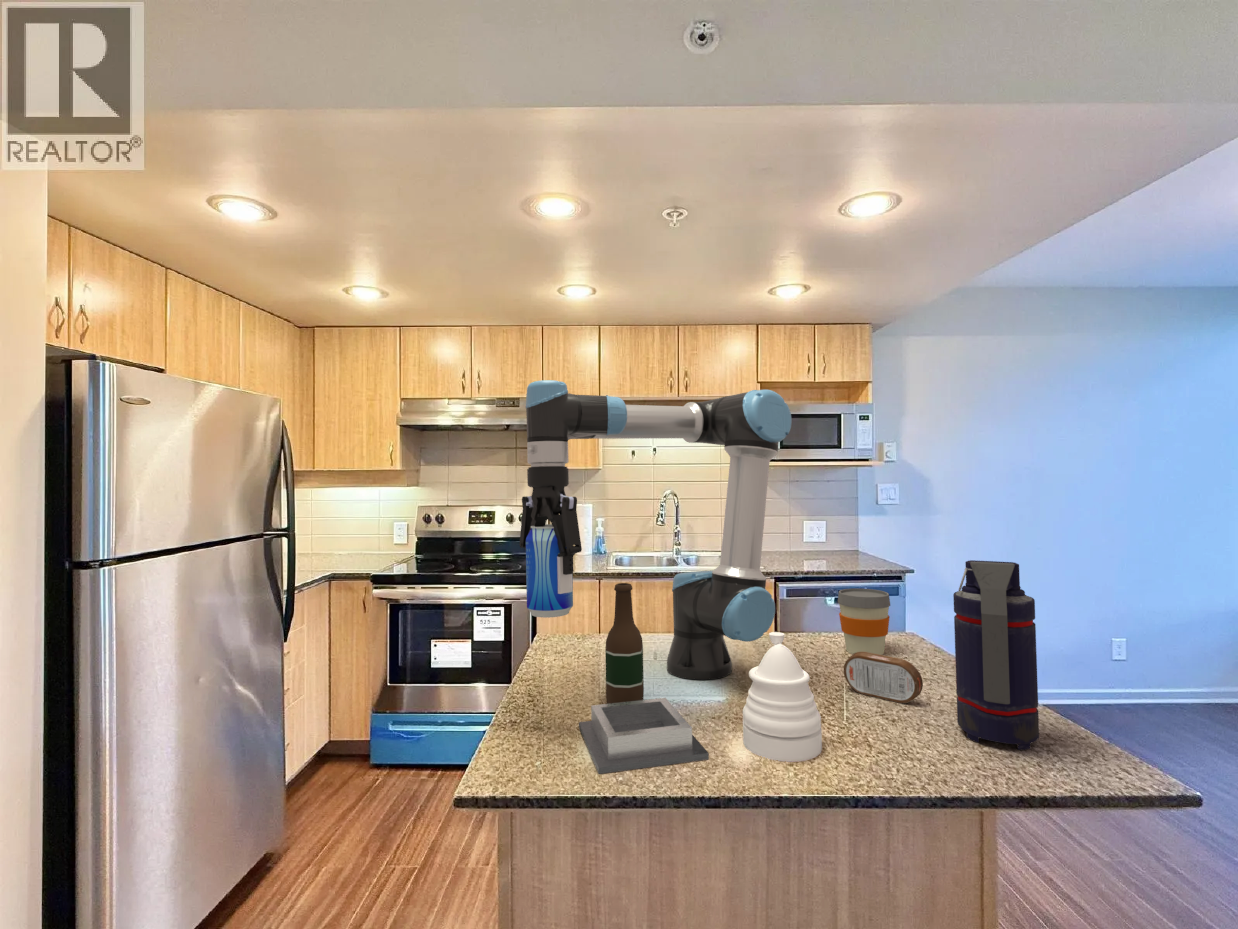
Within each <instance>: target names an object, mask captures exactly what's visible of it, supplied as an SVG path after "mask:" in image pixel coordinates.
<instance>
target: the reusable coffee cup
mask: <svg viewBox="0 0 1238 929" xmlns="http://www.w3.org/2000/svg"><path fill="white" fill-rule="evenodd" d="M837 595H838V596H837V604H839V611H840V612H839V613H838V615H839V623H840V627H841V628H840V629H841V631H842V633H843V637H844V644H845V650H846V652H848V653H849V654H852V655H853V654H854V653H857V652H869V653H874V654H879V655H884V654H885V647H886V646H885V644H886V638H887V636H888V635H889V626H890V625H889V624H890V615H889V611H890V610H889V609H890V607H891V599H890V594H889V593H888V592H887V591H883V590H880V589H872V588H845V589H840V590H839V591H838V594H837Z"/></svg>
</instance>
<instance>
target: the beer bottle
mask: <svg viewBox="0 0 1238 929" xmlns="http://www.w3.org/2000/svg"><path fill="white" fill-rule="evenodd" d="M632 590H633V586H632V583H628V582H620V583H619V582H618V583H616V584H615V585H614V590H613V591H615V600H614V618H613V625H612V626H611V628H610V630H609V632H608V634H607V637H606V640H605V649H604V650H605V651H604V652H605V700H606V704H610V703H620V702H629V701H639V700H644V691H645V690H644V689H645V688H644V685H645V684H644V645H643V644H644V642H643V638H642V634H641V631H640V630H639V628H638V627H637V625H636V624H635V621H634V620H635V619H634V612H633V601H632Z"/></svg>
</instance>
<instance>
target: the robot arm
mask: <svg viewBox="0 0 1238 929" xmlns="http://www.w3.org/2000/svg"><path fill="white" fill-rule="evenodd" d="M525 396H526V400H525V409H526V410H525V411H526V412H525V413H526V414H525V416H526V436H527V437H526V442H527V449H526V450H527V454H526V458H527V464H529V465H530V467H528V468H527V470H526V471H527V472H526V473H527V476H526V478H527V486H528V487H529V488H532V492H531V495H530V496H527V495H526V496H525V495H524V496H522V498H521V505H522V513H521V524H520V534H519V544H518V545H519V547H520V548H521V549H524V550H525V552H526V537H527V536H528V534H529V532H530V530H531V526H533V525H534V526H535V527H543V526H545V525H546V524H547V521H549V522H550V524H552V526H553V527H554V532H555V535H556V537H557V544H558V547H559V551H560V553H559V554H558V555H557V573H558V594H563V593H569V592H572V574H573V573H574V555H576V554H578V553H581V552H582V549H583V548H582V541H581V536H580V528H579V527H580V526H579V520H578V513H577V512H578V511H577V508H578V507H577V506H578V498H577V497H576V496H568V495H566V492H565V491H566V490H565V487H568V486H569V484H570V482H569V478H570V477H569V468H568V466H566V464H568V463H569V460H570V459H569V440H590V439H595V440H597V439H603V440H604V439H608V440H609V439H612V440H613V439H623V440H625V439H683V440H684V441H685V443H691V444H693V443H695V444H696V443H697V444H699V443H700V444H707V445H717V446H718V445H719V446H724V448H723V450H724V451H725V452H726V453H727V454H728V456H729V466H728V467H729V468H728V478H727V488H726V500H725V510H724V520H723V529H722V531H723V532H722V538H721V552H720V563H719V565H718V566H716V568H714V569H713V570H700V571H699V570H697V571H688V572H678V573H676V574H675V575H674V577H673V580H672V589H671V592H672V607H673V608H672V614H673V616H672V617H673V619H672V620H673V638H672V642H671V645H670V648H669V651H668V656H667V658H666V669H667V672H668V673H669V674H671V675H673V676H675V677H678V678H681V679H687V680H697V681H698V680H702V681H703V680H716V679H721V678H724V677H727V676H728V675H729V676H730V674H731V673H732V671H733V670H732V669H733V664H732V663H733V662H732V658H731V655H730V652H729V650H728V646H727V644H726V641H725V639H724V636H725V637H727V638H729V639H730V640H734V641H741V642H747V643H749V642H754V641H756V640H759V639H760V638H762V637H763V636H764V634H766V633H767V632H768V631H769V629H770V628H771V626H772V625H773V622H774V619H775V616H776V615H775V614H776V603H775V600H774V598H773V596H772V594H771V593H770V592H769V591H768V590H767V589H766V586H767V577H766V576H765V575H764V573H763V572H762V571H761V564H762V563H761V562H762V561H761V560H762V550H763V548H762V547H763V540H764V538H763V537H764V526H765V515H766V503H767V495H768V482H769V474H770V473H769V472H770V471H769V470H770V463H771V462H770V461H771V460H772V459H773V458H774V457H775V456H776V455H778V451H779V442H782V441H783V440H784V439H786V437H787V436H788V435H789V433H790V432H791V428H792V421H793V420H792V414H791V410H790V407H789V405H788V403H787V402H785V399H784V398H783V397H782V395H781V394H779V393H777V392H776V391H774V390H770V389H751V390H749V391H746V392H742V393H736V394H731V395H728V396H727V395H726V396H722V397H718V398H714V399H710V400H704V401H698V402H697V401H690V402H687V403H685V404H684V405H682V406H681V405H651V404H649V405H648V404H647V405H645V404H643V405H642V404H640V405H639V404H626V403H625V400H623V399H622V398H621V397H618V396H610V395H596V394H595V395H592V394H589V395H588V394H573V393H569V390H568V386H567V383H565V382H564V381H558V380H553V379H551V380H550V379H547V380H546V379H545V380H544V379H543V380H536V381H533V382H530V383H528V385H527V387H526V394H525ZM565 547H566V549H565ZM573 575H574V574H573Z"/></svg>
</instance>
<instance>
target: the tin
mask: <svg viewBox="0 0 1238 929" xmlns="http://www.w3.org/2000/svg"><path fill="white" fill-rule="evenodd" d="M843 674H844V675H843V676H844V679H845V682H846V683H847V684H848V685H849V687H851V689H852V690H854V691H855V692H857V693H858V694H861V695H864V696H869V697H872V698H873V697H874V698H876V699H882V700H886V701H890V702H893V703H897V704H898V703H899V704H907V703H910V702H912V701H914V700H916V698H918V697H919V696H920V695H921V693H922V691H923V688H924V687H923V686H924V685H923V684H924V681H923V677H922V675H921V673H920V672H919V670H918V668H917V667H916V666H914V664H912V663H911V662H910V661H908V660H906V659H903V658H898V657H894V656H887V655H884V654H883V655H879V654H874V653H869V652H857V653H854V654H852V655H851V656H849V657H848V658H847V659H846V660H845V663H844V664H843Z"/></svg>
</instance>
